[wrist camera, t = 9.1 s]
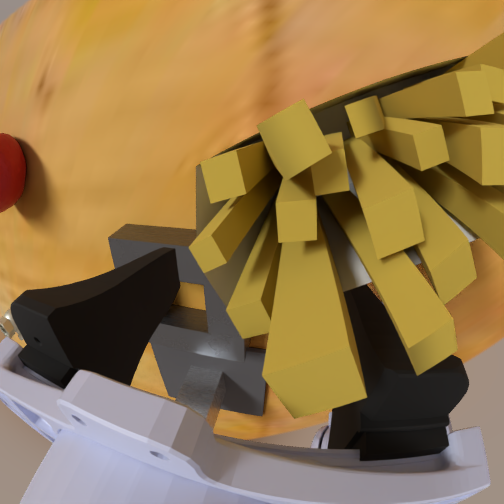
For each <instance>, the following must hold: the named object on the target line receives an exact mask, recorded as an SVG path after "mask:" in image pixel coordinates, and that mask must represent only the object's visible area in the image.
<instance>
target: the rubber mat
mask: <svg viewBox="0 0 504 504" xmlns="http://www.w3.org/2000/svg"><path fill="white" fill-rule="evenodd" d="M151 345H152V349H153V352H154V355H155V358H156V361H157V364H158V367H159V370H160V373H161V376H162V378H163V381H164V384H165V387H166V389H167V392H168V395H169V396H171V397H174V398H177V395H178V393H179V391H180V389H181V387H182V384H183V382H184V380H185V378H186V376H187V373H188V371H189V369H190V367H191V366H194V367H200V368H205V369H211V370H217V371H223V376H224V381H225V386H226V392H225V395H224V399H223V402H222V405H221V408H220V409H224V410H229V411H234V412H239V413H245V414H251V415H257V416H262V415H263V408H264V398H265V388H266V381H265V379H264V378H263V376H262V372H263V366H264V361H265V355H266V350H265V349H258V348H251V347H249V348H248V351H247V355H246V358H245V362H239V361H233V360H227V359H222V358H216V357H211V356H206V355H201V354H197V353H192V352H187V351H183V350H179V349H174V348H170V347H166V346H162V345H158V344H154V343H151Z"/></svg>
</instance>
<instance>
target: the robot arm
mask: <svg viewBox="0 0 504 504" xmlns="http://www.w3.org/2000/svg"><path fill="white" fill-rule="evenodd" d="M179 288H180V280H179V273H178V266H177V258H176V250H175V248H167V247H162V248H159V249H157V250H154V251H152V252H150V253H148V254H146V255H144V256H142V257H139V258H137V259H135V260H133V261H131V262H129V263H127V264H125V265H123V266H120V267H118V268H116V269H114V270H111V271H109V272H107V273H104V274H102V275H99V276H96V277H93V278H90V279H87V280H83V281H80V282H76V283H72V284H68V285H64V286H58V287H52V288H45V289H34V290H26V291H25V292H23V293H22V294H21V295H20V296H19V297H18V298H17V299H16V300H15V301H14V302H13V303H12V304H11V314H12V318H13V320H14V322H15V324H16V326H17V328H18V330H19V331H20V333H21V335H22V337H23V339H24V340H25V342H26V344H27V345H26V346H25V347H24V348H22V347H21V346H20V345H19V344H18V343H17V342H15V341H13V340H12V339H10V338H9V337H5V338H4V340H3V341H2V342H1V343H0V399H1V400H2V402H3V403H4V404H5V405H6V406H7V407H8V408H9V409H11V410H12V411H13V412H14V413H15V414H17V415H18V416H19V417H20V418H21V419H22V420H24V421H25V422H26V423H27V424H29V425H30V426H31V427H32V428H34V429H35V430H36V431H37V432H39V433H40V434H41V435H43V436H44V437H45V438H47V439H48V440H49V441H51V442H52V443H53V444H52V446H51V447H50V449H49V451H48V452H47V454H46V456H45V458H44V459H43V461H42V463H41V465H40V466H39V468H38V470H37V472H36V474H35V475H34V477H33V479H32V481H31V483H30V484H29V486H28V488H27V490H26V492H25V494H24V496H23V498H22V499H21V502H20V503H19V504H457V503H459V502H460V501H462V500H464V499H467V498H469V497H470V496H472V495H474V494H476V493H478V492H479V491H481V490H483V489H485V488H487V487H488V486H489V485H490V476H489V469H488V464H487V458H486V452H485V448H484V443H483V439H482V434H481V430H480V427H479V426H475V427H471V428H466V429H460V430H456V431H452V426H451V422H450V418H449V413H450V412H451V411H452V410H453V409H454V407H455V406H456V405H457V404H458V403H459V402H460V400H461V399H462V398H463V396H464V395H465V394H466V392H467V390H468V387H469V379H468V377H467V374H466V371H465V368H464V365H463V363H462V361H461V359H460V358H458V357H456V356H454V355H452V354H451V355H450V356H448V357H447V358H445V359H444V360H442V361H441V362H439V363H438V364H436V365H435V366H433V367H431V368H430V369H428V370H426V371H425V372H423V373H421V374H420V375H418V376H417V375H416V372H415V370H414V367H413V365H412V363H411V361H410V358H409V356H408V354H407V352H406V349H405V347H404V345H403V343H402V341H401V339H400V336H399V334H398V332H397V330H396V328H395V326H394V324H393V322H392V320H391V318H390V316H389V314H388V312H387V310H386V308H385V306H384V304H383V302H381V301H380V300H379V299H378V298H377V297H376V295H375V294H374V293H373V292H372V291H371V289H370V288H369V287H368V286H367V284H365V285H362V286H359V287H356V288H353V289H350V290H347V291H345V292H343V293H344V297H345V301H346V305H347V309H348V313H349V316H350V320H351V325H352V329H353V333H354V337H355V341H356V346H357V350H358V355H359V359H360V364H361V369H362V373H363V378H364V383H365V388H366V394H367V398H364V399H361V400H358V401H355V402H352V403H349V404H346V405H343V406H340V407H336V408H333V409H332V412H330V413H329V425H327V426H324V427H321V428H320V429H319V430H318V431H317V433H316V435H315V437H314V439H313V441H312V444H311V447H310V448H304V447H293V446H283V445H275V444H267V443H261V442H254V441H248V440H243V439H237V438H232V437H227V436H222V435H218V434H213V430H212V428H211V427H210V425H209V424H208V422H207V421H206V420H205V418H204V417H203V416H202V415H201V414H199V413H197V412H196V411H194V410H193V409H191V408H190V407H188V406H186V405H184V404H181V403H179V402H176V401H174V400H171V399H169V398H166V397H162V396H159V395H156V394H153V393H150V392H146V391H143V390H140V389H137V388H135V387H132V386H130V385H131V382H132V379H133V376H134V374H135V371H136V369H137V366H138V364H139V361H140V359H141V357H142V355H143V352H144V350H145V348H146V346H147V344H148V342H149V340H150V338H151V337H152V335H153V334H154V332H155V330H156V329H157V327H158V326H159V324H160V322H161V321H162V319H163V318H164V316H165V315H166V313H167V311H168V310H169V308H170V307H171V305H172V303H173V301H174V299H175V297H176V295H177V292H178V290H179Z"/></svg>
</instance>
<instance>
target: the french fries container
mask: <svg viewBox="0 0 504 504" xmlns="http://www.w3.org/2000/svg"><path fill="white" fill-rule="evenodd" d="M257 128H258V130H259V133H257V134H255V135H253V136H251V137H249V138H247V139H245V140H243V141H241V142H239V143H238V144H236V145H234V146H232V147H230V148H228V149H226V150H224V151H222V152H221V153H219V154H217V155H215V156H213V157H212V158H210V159H207V160H205V161H202V162H200V164H199V165H197V166H196V236H197V238H196V239H195V240H194V241H193V243H192V244H191V245H190V246H189V247H188V248H189V249H190V251H191V253H192V254H193V256H194V258H195V259H196V261H197V264H198V265H199V267H200V268H201V270H202V271H203V273H204V274H205V276H206V278H207V279H208V281H209V282H210V284H211V285H212V287H213V288H214V290H215V291H216V293H217V294H218V296H219V297H220V299H221V300H222V301H223V303H224V304H225V306H226V307H227V309H226V311H227V313H228V315H229V317H230V318H231V320H232V322H233V324H234V325H235V327H236V329H237V330H238V332H239V334H240V335H241V337H242V339H245V338H249V337H254V336H258V335H262V334H266V333H269V336H268V342H267V348H266V355H265V361H264V366H263V372H262V376H263V378H264V379H265V381H266V382H267V383H268V385H269V386H270V387H271V389H272V390H273V391H274V393H275V394H276V395H277V397H278V398H279V399H280V401H281V402H282V403H283V405H284V406H285V407H286V409H287V410H288V411H289V412H290V414H291V415H292V416H293V418H294V419H295V418H299V417H303V416H307V415H311V414H315V413H319V412H322V411H326V410H329V409H333V408H336V407H340V406H343V405H346V404H349V403H352V402H355V401H358V400H361V399H364V398H367V394H366V388H365V383H364V378H363V373H362V369H361V364H360V359H359V355H358V350H357V346H356V341H355V337H354V333H353V329H352V325H351V320H350V316H349V313H348V309H347V305H346V301H345V297H344V293H343V292H345V291H347V290H350V289H353V288H356V287H359V286H362V285H365V284H367V283H370V282H372V283H373V285H374V286H375V288H376V290H377V292H378V294H379V296H380V298H381V300H382V302H383V304H384V306H385V308H386V310H387V312H388V314H389V316H390V318H391V320H392V322H393V324H394V326H395V328H396V330H397V332H398V334H399V336H400V339H401V341H402V343H403V345H404V347H405V349H406V352H407V354H408V356H409V358H410V361H411V363H412V365H413V367H414V370H415V372H416V375H417V376H418V375H420V374H421V373H423V372H425V371H426V370H428V369H430V368H431V367H433V366H435V365H436V364H438V363H439V362H441V361H442V360H444V359H445V358H447V357H448V356H450V355H451V354H453V353H454V352H456V351H457V350H458V349H457V341H456V333H455V327H454V320H453V318H452V316H451V315H450V313H449V312H448V310H447V309H446V307H445V306H444V305H445V304H446V303H447V302H449V301H450V300H451V299H452V298H454V297H455V296H456V295H457V294H459V293H460V292H461V291H462V290H463V289H464V288H466V287H467V286H468V285H469V284H470V283H471V282H473V281H474V280H475V279H476V278H477V275H476V270H475V265H474V261H473V256H472V252H471V248H470V244H469V242H472V241H474V240H476V239H478V238H481V239H482V240H483V241H484V242H485V243H487V244H488V245H489V246H490V247H491V248H492V249H493V250H494V251H495V252H496V253H497V254H498V255H499V256H500V257H501V258H502V259H503V260H504V33H502V34H501V35H499V36H498V37H496V38H495V39H493V40H492V41H490V42H489V43H487V44H486V45H484V46H483V47H481V48H480V49H478V50H477V51H475V52H474V53H472V54H471V55H469V56H465V57H461V58H457V59H453V60H449V61H445V62H441V63H437V64H434V65H430V66H427V67H423V68H420V69H417V70H413V71H410V72H407V73H404V74H400V75H397V76H394V77H391V78H388V79H385V80H383V81H380V82H377V83H374V84H371V85H369V86H366V87H363V88H360V89H358V90H355V91H353V92H350V93H348V94H345V95H342V96H340V97H337V98H335V99H332V100H330V101H327V102H325V103H323V104H320V105H318V106H316V107H313V108H311V109H309V108H308V106H307V104H306V102H305V100H304V99H302V100H300V101H298V102H297V103H295V104H293V105H291V106H289V107H288V108H286V109H284V110H282V111H281V112H279V113H277V114H275V115H274V116H272V117H270V118H269V119H267V120H265V121H264V122H262V123H260V124H259V125H257ZM420 263H422V265H423V267H424V269H425V271H426V273H427V275H428V277H429V279H430V281H431V283H432V285H433V288H434V290H435V292H436V293H435V292H434V290H433V289H432V287H431V286H430V285H429V283H428V282H427V281H426V279H425V278H424V277H423V275H422V274H421V273H420V271H419V270H418V269H417V267H416V266H415V265H417V264H420Z"/></svg>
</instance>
